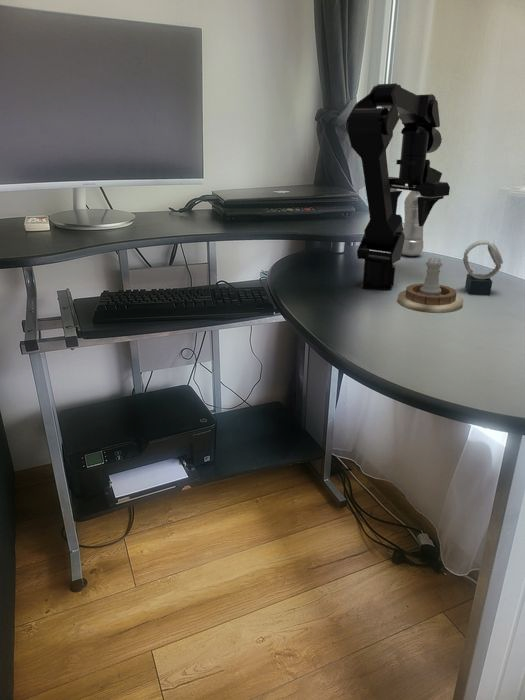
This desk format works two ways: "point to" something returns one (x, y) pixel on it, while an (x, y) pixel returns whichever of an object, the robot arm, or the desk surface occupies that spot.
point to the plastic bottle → (412, 226)
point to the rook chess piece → (432, 278)
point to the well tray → (430, 299)
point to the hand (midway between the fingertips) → (406, 223)
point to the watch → (478, 282)
